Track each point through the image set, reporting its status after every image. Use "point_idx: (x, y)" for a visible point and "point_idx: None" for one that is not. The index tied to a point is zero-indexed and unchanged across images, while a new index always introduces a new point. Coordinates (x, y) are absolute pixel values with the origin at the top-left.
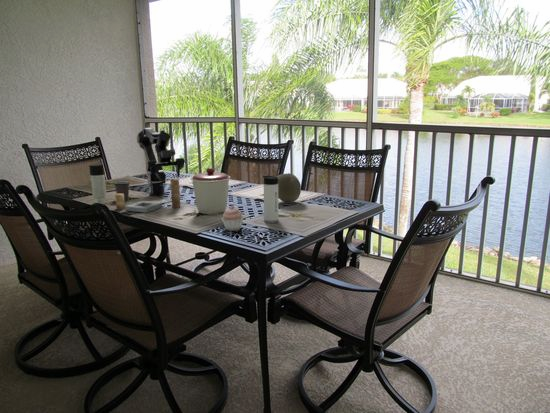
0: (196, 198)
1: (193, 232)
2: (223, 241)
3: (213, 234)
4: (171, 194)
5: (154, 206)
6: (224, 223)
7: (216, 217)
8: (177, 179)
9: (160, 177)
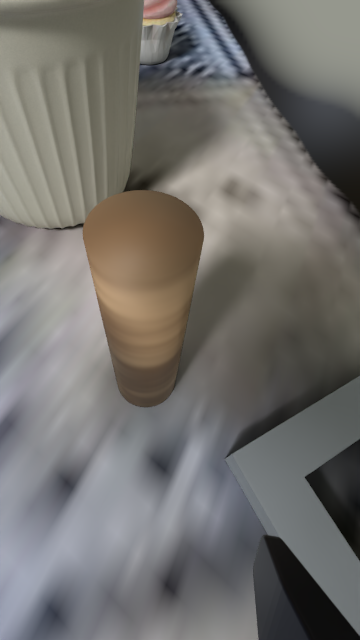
0: (135, 117)
1: (255, 85)
2: (221, 28)
3: (216, 56)
4: (183, 340)
5: (303, 410)
6: (172, 35)
7: None
8: (125, 196)
9: (284, 553)
